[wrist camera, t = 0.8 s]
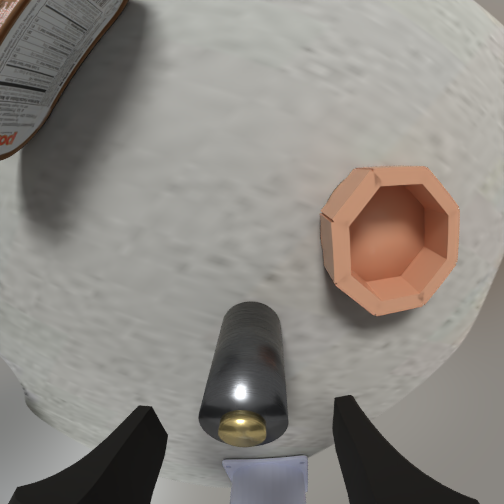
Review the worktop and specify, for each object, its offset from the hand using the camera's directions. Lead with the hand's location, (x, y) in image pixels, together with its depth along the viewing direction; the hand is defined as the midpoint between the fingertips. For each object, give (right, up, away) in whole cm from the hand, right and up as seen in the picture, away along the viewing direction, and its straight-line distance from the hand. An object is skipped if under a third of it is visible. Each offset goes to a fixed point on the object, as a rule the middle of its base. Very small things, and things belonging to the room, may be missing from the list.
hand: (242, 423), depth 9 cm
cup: (+8, +8, +5) cm, 12 cm away
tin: (-11, +19, +3) cm, 22 cm away
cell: (0, +2, +7) cm, 8 cm away
